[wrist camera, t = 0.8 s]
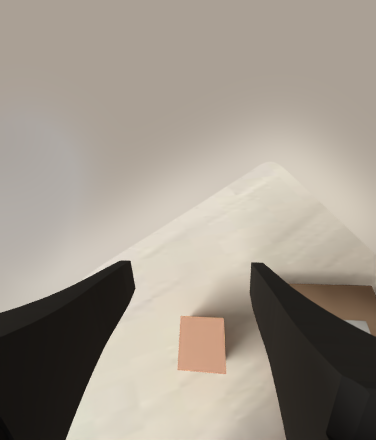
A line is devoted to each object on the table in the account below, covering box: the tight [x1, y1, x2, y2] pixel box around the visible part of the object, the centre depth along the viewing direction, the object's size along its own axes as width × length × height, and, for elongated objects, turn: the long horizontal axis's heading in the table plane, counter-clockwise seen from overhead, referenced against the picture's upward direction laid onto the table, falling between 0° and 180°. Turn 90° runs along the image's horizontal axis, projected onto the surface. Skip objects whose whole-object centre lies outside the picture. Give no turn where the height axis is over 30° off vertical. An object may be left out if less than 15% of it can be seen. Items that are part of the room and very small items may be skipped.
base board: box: [289, 284, 376, 336], centre depth 18 cm, size 14×11×2 cm
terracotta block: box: [178, 316, 226, 374], centre depth 19 cm, size 4×4×6 cm
